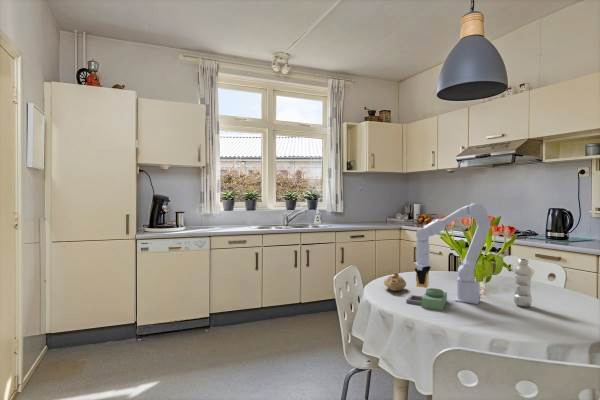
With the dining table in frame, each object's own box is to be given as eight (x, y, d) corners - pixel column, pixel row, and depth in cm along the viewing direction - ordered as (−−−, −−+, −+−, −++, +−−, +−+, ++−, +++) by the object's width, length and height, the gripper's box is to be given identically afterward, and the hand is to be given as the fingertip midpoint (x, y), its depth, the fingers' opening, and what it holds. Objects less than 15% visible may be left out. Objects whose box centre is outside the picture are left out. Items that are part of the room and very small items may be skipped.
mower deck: (446, 301, 160) (446, 288, 160) (441, 310, 148) (441, 295, 148) (412, 296, 168) (412, 283, 167) (404, 304, 156) (404, 290, 155)
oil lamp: (385, 294, 172) (385, 277, 172) (382, 286, 187) (382, 270, 187) (409, 294, 171) (409, 278, 170) (404, 286, 185) (404, 271, 185)
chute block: (428, 285, 169) (428, 272, 169) (426, 287, 165) (426, 274, 165) (417, 284, 171) (417, 271, 171) (415, 286, 167) (415, 273, 167)
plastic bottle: (523, 309, 149) (524, 261, 149) (510, 304, 155) (510, 258, 155) (535, 307, 151) (536, 260, 150) (521, 303, 157) (522, 257, 157)
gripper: (417, 250, 176) (417, 278, 176) (410, 255, 164) (410, 285, 164) (432, 252, 172) (432, 280, 173) (426, 256, 160) (426, 287, 160)
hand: (422, 282), depth 168 cm, fingers closed on chute block, 4 cm apart
